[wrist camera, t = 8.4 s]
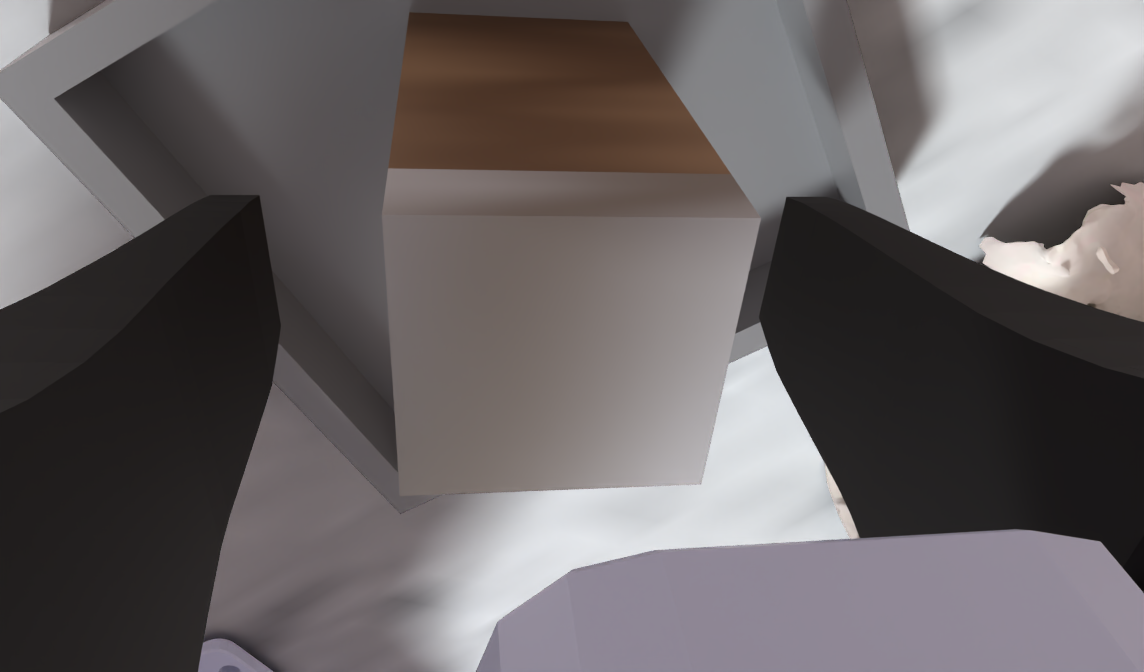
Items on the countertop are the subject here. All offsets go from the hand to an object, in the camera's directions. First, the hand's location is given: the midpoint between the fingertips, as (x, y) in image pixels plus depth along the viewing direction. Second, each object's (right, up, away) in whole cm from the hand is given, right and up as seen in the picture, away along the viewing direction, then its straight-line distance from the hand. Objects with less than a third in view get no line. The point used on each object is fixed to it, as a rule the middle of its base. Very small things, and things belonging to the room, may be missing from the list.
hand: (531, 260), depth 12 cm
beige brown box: (0, +3, +3) cm, 4 cm away
